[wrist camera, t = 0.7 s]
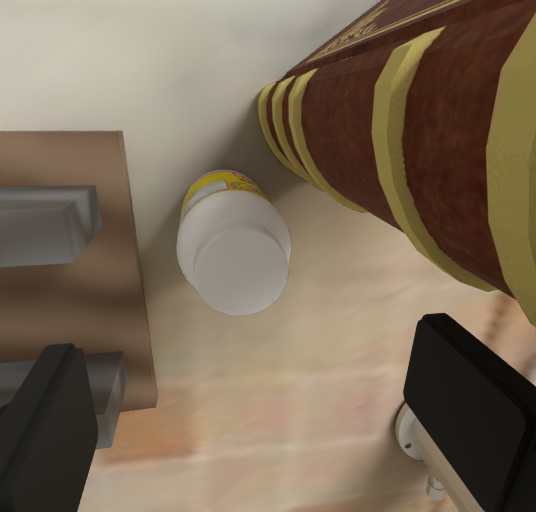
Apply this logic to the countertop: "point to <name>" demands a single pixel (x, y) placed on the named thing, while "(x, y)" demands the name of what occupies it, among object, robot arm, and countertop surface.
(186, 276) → the supplement bottle
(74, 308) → the stand
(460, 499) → the robot arm
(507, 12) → the decorative book
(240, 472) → the countertop surface
